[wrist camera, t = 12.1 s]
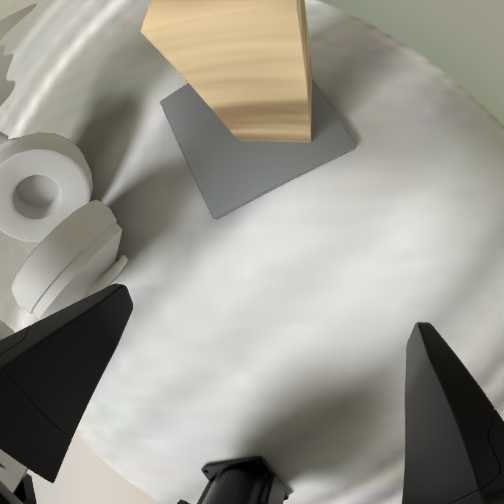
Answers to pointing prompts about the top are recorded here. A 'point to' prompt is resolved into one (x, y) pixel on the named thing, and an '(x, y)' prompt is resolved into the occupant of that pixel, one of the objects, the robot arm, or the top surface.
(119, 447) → the top surface
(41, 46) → the top surface
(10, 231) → the headphones
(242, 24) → the oak block
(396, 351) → the top surface
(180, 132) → the rubber mat
